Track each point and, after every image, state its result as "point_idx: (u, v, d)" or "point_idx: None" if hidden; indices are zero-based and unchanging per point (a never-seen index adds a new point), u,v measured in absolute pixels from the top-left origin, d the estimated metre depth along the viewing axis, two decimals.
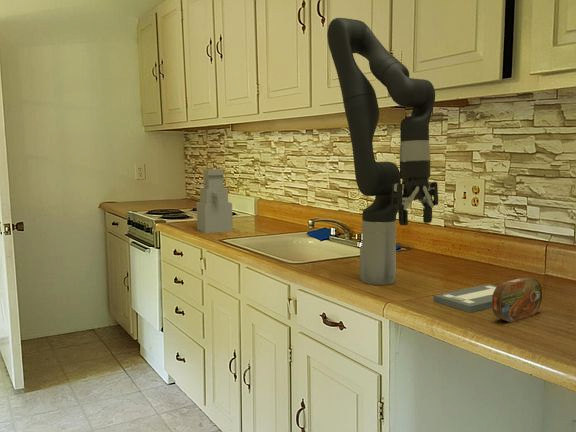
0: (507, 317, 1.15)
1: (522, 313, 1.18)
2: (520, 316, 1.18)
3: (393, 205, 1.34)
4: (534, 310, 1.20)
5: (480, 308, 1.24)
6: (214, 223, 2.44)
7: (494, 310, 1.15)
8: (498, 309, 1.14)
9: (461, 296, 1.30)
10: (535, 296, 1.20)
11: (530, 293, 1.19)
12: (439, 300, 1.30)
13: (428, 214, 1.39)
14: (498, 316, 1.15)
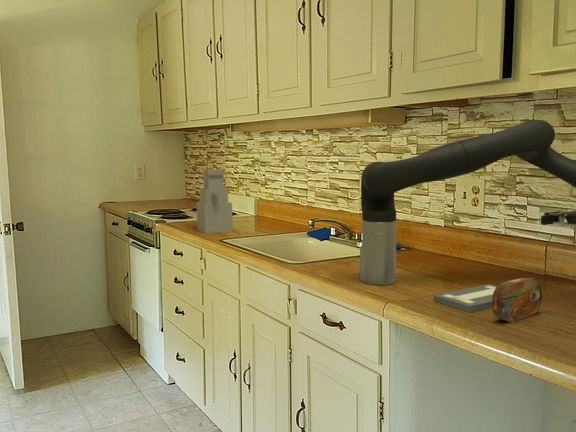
0: (507, 317, 1.15)
1: (522, 313, 1.18)
2: (520, 316, 1.18)
3: None
4: (534, 310, 1.20)
5: (480, 308, 1.24)
6: (214, 223, 2.44)
7: (494, 310, 1.15)
8: (498, 308, 1.14)
9: (461, 296, 1.30)
10: (535, 296, 1.20)
11: (530, 293, 1.19)
12: (439, 300, 1.30)
13: (549, 222, 1.28)
14: (498, 316, 1.15)
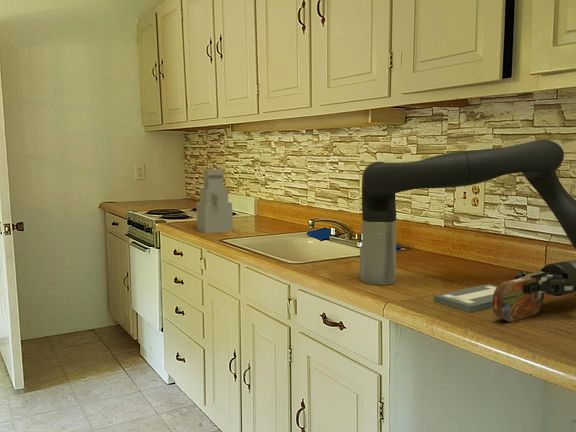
0: (507, 316, 1.15)
1: (523, 312, 1.18)
2: (521, 315, 1.18)
3: (550, 286, 1.17)
4: (535, 310, 1.20)
5: (480, 308, 1.24)
6: (214, 223, 2.44)
7: (494, 309, 1.15)
8: (499, 308, 1.14)
9: (461, 296, 1.30)
10: (537, 296, 1.20)
11: (532, 293, 1.19)
12: (439, 300, 1.30)
13: None
14: (498, 315, 1.15)
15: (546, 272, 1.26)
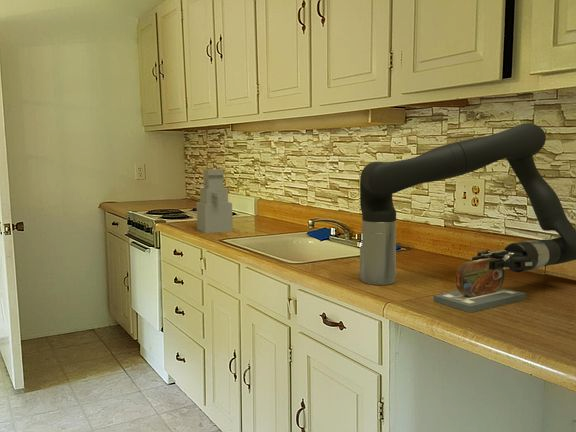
0: (469, 292, 1.29)
1: (484, 289, 1.31)
2: (482, 292, 1.31)
3: (513, 262, 1.29)
4: (496, 287, 1.33)
5: (480, 308, 1.24)
6: (214, 223, 2.44)
7: (457, 286, 1.29)
8: (461, 284, 1.27)
9: (461, 296, 1.30)
10: (497, 275, 1.33)
11: (492, 272, 1.33)
12: (439, 300, 1.30)
13: None
14: (461, 291, 1.29)
15: (508, 251, 1.38)
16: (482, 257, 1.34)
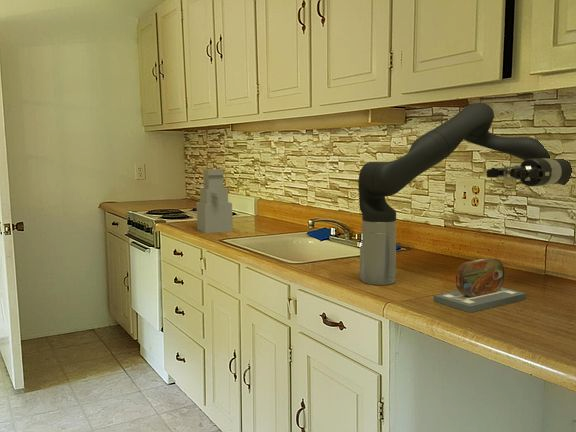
0: (469, 292, 1.29)
1: (484, 289, 1.31)
2: (483, 292, 1.31)
3: (538, 172, 1.37)
4: (496, 287, 1.33)
5: (480, 308, 1.24)
6: (214, 223, 2.44)
7: (457, 286, 1.29)
8: (461, 284, 1.27)
9: (461, 296, 1.30)
10: (497, 275, 1.33)
11: (492, 272, 1.33)
12: (439, 300, 1.30)
13: (494, 175, 1.45)
14: (461, 291, 1.29)
15: (523, 167, 1.48)
16: (496, 170, 1.45)
